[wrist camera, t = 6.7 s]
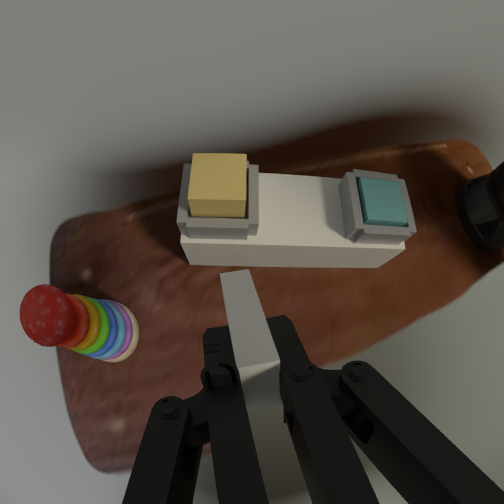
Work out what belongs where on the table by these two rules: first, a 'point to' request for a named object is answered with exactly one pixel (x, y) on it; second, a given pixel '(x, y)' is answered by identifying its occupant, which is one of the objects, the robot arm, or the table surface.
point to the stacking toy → (79, 323)
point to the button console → (294, 224)
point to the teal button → (381, 202)
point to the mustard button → (218, 185)
